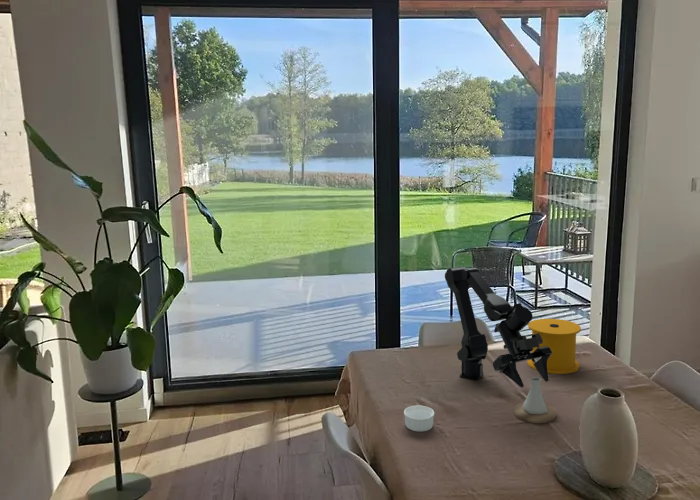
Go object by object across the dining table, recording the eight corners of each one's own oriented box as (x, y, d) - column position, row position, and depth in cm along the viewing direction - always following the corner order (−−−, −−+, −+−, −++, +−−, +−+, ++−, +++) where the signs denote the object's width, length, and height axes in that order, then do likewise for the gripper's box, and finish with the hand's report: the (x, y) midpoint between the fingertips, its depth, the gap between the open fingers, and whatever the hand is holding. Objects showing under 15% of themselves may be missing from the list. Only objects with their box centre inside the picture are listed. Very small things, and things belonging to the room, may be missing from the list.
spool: (583, 360, 215) (585, 322, 212) (573, 377, 200) (574, 336, 197) (534, 353, 225) (535, 315, 222) (521, 368, 210) (522, 328, 207)
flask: (552, 414, 171) (553, 382, 170) (529, 416, 170) (530, 384, 168) (540, 403, 178) (541, 372, 177) (518, 406, 177) (519, 375, 175)
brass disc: (508, 416, 173) (508, 413, 173) (521, 402, 183) (521, 398, 182) (548, 427, 166) (549, 423, 166) (560, 411, 176) (561, 407, 175)
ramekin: (437, 420, 172) (437, 407, 171) (431, 434, 164) (431, 420, 163) (407, 417, 175) (407, 403, 174) (400, 430, 167) (400, 416, 166)
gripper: (499, 330, 171) (522, 378, 163) (549, 321, 178) (574, 367, 170) (483, 347, 180) (504, 394, 172) (531, 338, 187) (554, 382, 179)
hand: (535, 384), depth 173 cm, fingers open, 9 cm apart
